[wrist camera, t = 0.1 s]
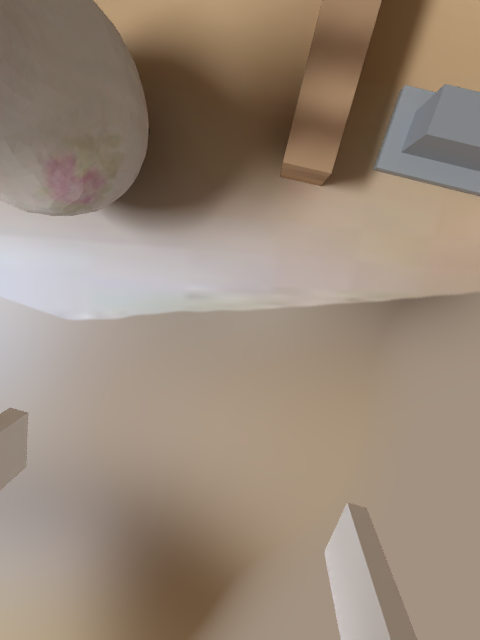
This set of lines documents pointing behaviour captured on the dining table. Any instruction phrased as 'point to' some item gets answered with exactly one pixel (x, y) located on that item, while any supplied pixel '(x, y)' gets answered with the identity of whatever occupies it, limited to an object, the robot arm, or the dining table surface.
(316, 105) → the walnut bar
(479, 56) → the dining table surface
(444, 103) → the fulcrum
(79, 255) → the dining table surface
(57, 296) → the dining table surface
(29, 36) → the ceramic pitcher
